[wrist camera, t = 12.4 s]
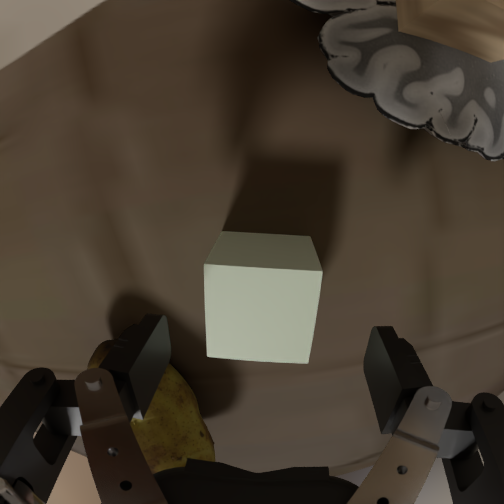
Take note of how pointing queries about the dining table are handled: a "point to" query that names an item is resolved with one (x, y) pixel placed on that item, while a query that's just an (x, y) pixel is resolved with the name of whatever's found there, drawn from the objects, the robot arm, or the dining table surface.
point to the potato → (168, 421)
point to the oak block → (457, 24)
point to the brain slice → (413, 75)
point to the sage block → (261, 297)
